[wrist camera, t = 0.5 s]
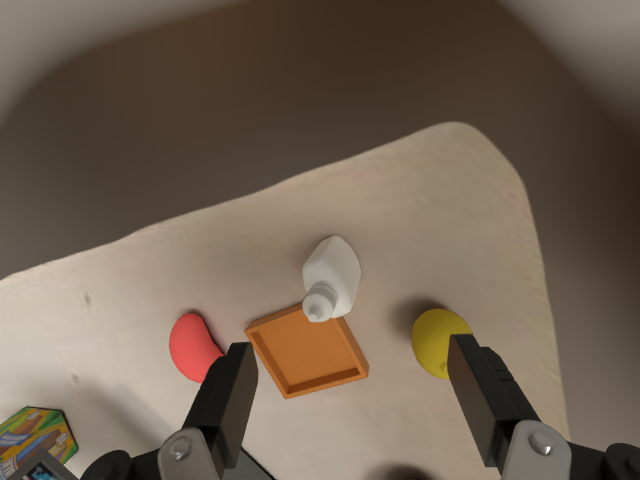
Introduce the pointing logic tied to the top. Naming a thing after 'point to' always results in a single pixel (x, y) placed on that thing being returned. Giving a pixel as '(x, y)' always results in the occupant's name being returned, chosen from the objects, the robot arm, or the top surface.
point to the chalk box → (33, 438)
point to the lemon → (436, 339)
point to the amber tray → (306, 351)
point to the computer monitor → (51, 476)
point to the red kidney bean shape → (192, 347)
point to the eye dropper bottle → (330, 280)
